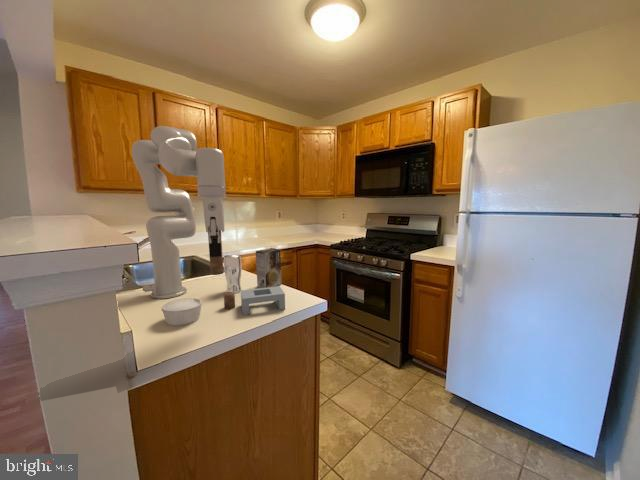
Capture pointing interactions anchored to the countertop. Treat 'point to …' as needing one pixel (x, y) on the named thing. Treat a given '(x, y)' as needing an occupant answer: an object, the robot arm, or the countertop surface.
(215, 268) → the tall brown wooden block
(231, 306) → the brown upright block
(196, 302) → the ramekin
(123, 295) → the countertop surface
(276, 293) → the hole bridge
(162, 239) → the robot arm
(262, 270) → the coffee box
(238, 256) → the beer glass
